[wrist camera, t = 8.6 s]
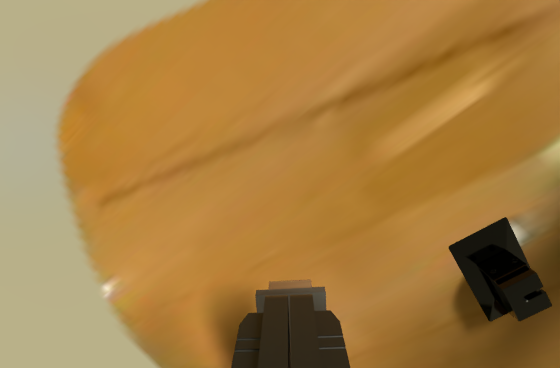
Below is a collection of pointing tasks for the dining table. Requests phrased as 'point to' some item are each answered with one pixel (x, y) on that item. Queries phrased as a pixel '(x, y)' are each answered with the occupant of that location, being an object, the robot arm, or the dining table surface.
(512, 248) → the black box
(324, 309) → the lever
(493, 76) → the dining table surface
